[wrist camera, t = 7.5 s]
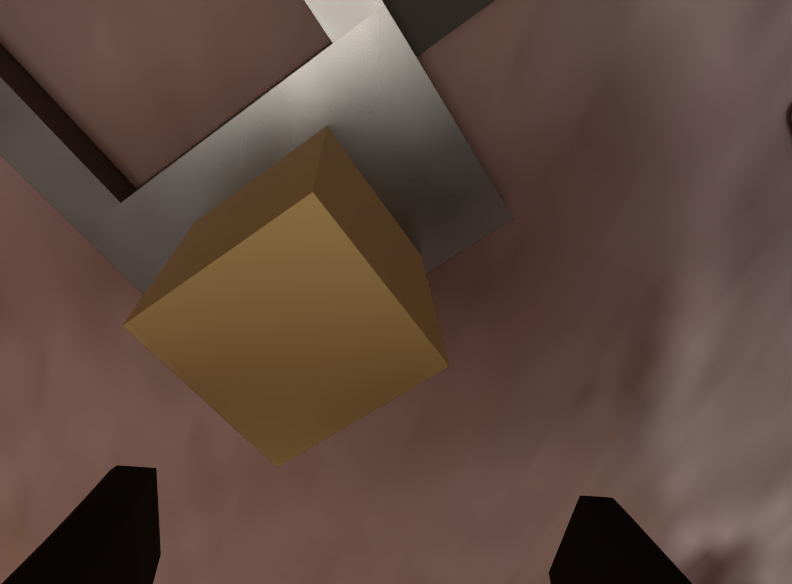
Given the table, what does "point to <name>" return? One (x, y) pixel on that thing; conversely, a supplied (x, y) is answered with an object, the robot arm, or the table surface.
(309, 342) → the block
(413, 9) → the pad
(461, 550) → the table surface
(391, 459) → the table surface
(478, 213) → the gray rectangular frame
